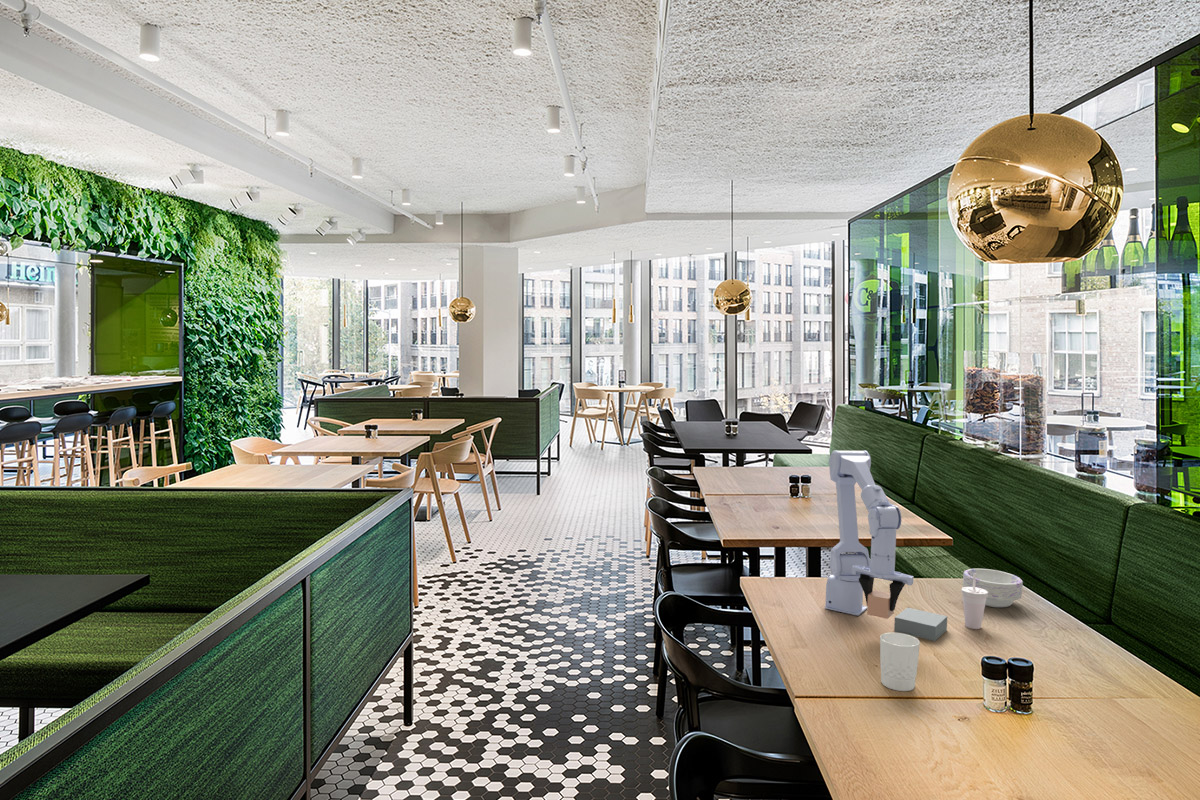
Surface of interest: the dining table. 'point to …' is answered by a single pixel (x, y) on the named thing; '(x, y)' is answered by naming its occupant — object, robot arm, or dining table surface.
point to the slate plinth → (920, 624)
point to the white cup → (899, 660)
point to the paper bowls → (995, 586)
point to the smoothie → (974, 605)
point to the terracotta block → (879, 604)
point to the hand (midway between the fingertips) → (880, 607)
